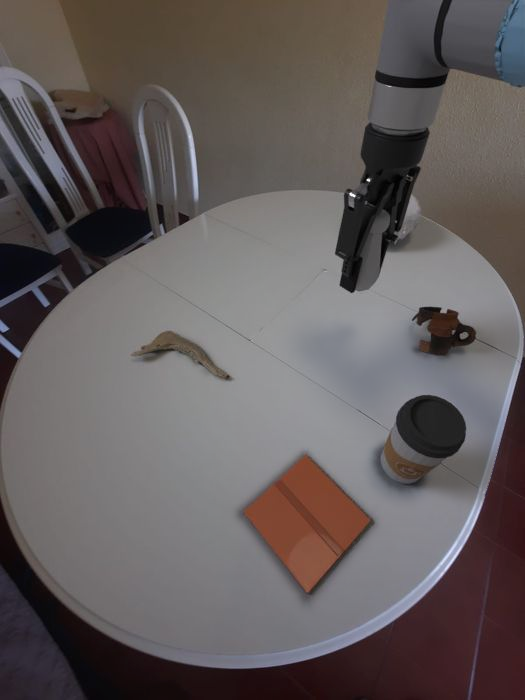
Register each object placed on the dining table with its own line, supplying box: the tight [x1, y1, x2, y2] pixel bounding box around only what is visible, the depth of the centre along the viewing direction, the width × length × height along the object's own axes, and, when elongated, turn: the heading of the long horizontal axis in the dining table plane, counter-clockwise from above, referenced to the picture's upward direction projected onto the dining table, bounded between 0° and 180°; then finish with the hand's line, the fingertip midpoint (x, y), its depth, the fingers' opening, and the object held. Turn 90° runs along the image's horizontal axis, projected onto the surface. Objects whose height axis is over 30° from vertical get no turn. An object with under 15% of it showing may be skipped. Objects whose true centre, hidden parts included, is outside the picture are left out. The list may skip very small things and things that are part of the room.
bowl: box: [367, 193, 423, 246], centre depth 93 cm, size 21×20×10 cm
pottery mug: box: [411, 306, 477, 355], centre depth 69 cm, size 12×10×8 cm
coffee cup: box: [380, 394, 467, 485], centre depth 48 cm, size 8×8×15 cm
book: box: [243, 454, 372, 594], centre depth 49 cm, size 13×13×1 cm
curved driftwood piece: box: [130, 330, 230, 380], centre depth 69 cm, size 9×20×2 cm, turn 75°
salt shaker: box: [355, 209, 390, 293], centre depth 54 cm, size 6×6×13 cm
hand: (359, 280), depth 58 cm, fingers closed on salt shaker, 6 cm apart
